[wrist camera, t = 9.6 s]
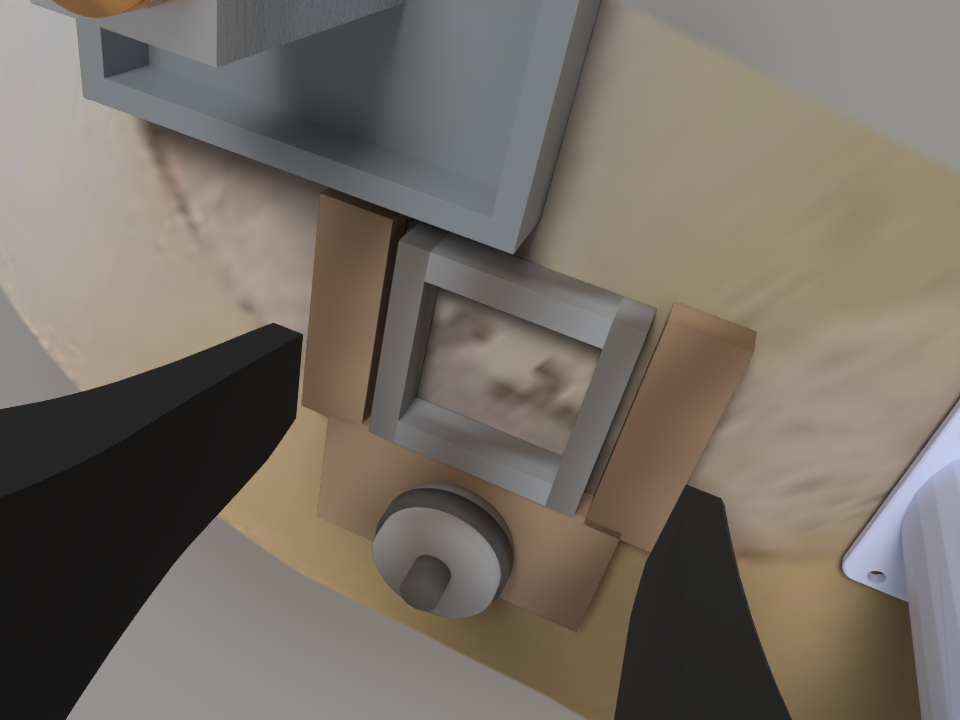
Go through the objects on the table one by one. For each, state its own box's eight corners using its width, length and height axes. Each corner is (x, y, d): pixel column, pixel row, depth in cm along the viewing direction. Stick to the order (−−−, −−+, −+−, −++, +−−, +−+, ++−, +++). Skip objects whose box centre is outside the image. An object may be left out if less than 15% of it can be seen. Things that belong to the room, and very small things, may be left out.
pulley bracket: (756, 331, 22) (743, 419, 19) (610, 621, 30) (582, 720, 27) (340, 180, 24) (259, 234, 21) (307, 487, 32) (245, 563, 29)
